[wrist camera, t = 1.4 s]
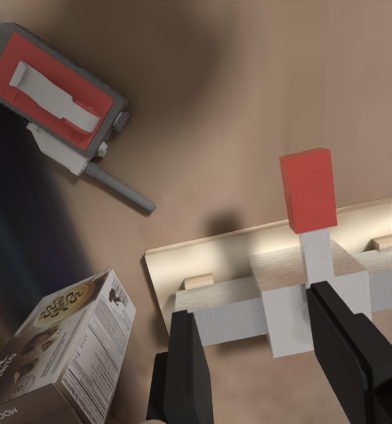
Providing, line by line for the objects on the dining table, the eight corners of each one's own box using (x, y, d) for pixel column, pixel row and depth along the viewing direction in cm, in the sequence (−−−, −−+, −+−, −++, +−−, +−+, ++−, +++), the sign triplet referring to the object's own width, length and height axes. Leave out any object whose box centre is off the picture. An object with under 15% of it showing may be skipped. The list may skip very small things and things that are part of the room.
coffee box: (71, 338, 38) (-11, 493, 22) (41, 295, 36) (-69, 432, 21) (139, 310, 37) (102, 452, 21) (112, 265, 35) (51, 385, 20)
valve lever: (278, 157, 23) (285, 160, 21) (320, 147, 23) (330, 150, 21) (305, 334, 27) (312, 348, 26) (339, 327, 27) (348, 341, 26)
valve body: (173, 272, 34) (169, 311, 27) (409, 221, 32) (466, 249, 26) (188, 325, 36) (188, 374, 29) (411, 280, 34) (464, 320, 28)
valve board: (146, 250, 34) (142, 262, 32) (423, 189, 33) (445, 196, 30) (173, 339, 38) (171, 357, 35) (424, 288, 36) (444, 303, 34)
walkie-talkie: (-28, 101, 30) (150, 213, 34) (-64, 99, 26) (145, 228, 30) (11, 15, 28) (197, 144, 32) (-21, -2, 24) (198, 149, 27)
